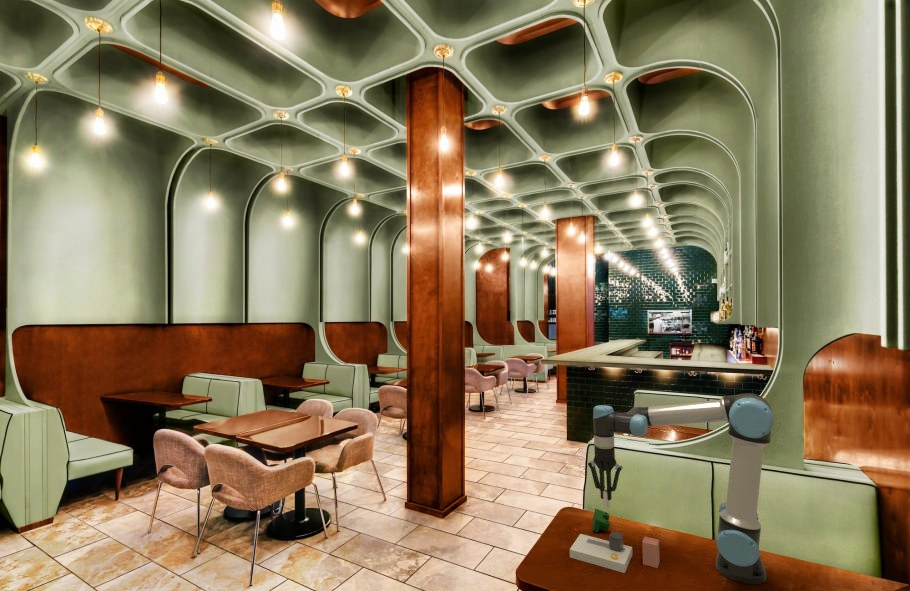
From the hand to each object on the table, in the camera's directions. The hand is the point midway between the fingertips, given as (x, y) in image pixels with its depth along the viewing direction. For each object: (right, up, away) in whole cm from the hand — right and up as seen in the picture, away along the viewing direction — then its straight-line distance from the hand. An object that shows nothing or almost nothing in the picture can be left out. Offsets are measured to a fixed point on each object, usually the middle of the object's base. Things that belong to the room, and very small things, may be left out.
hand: (606, 507), depth 171 cm
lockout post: (+14, -17, -7) cm, 23 cm away
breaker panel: (-3, -17, -2) cm, 18 cm away
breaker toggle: (+3, -14, -2) cm, 15 cm away
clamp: (+4, -19, +20) cm, 28 cm away
